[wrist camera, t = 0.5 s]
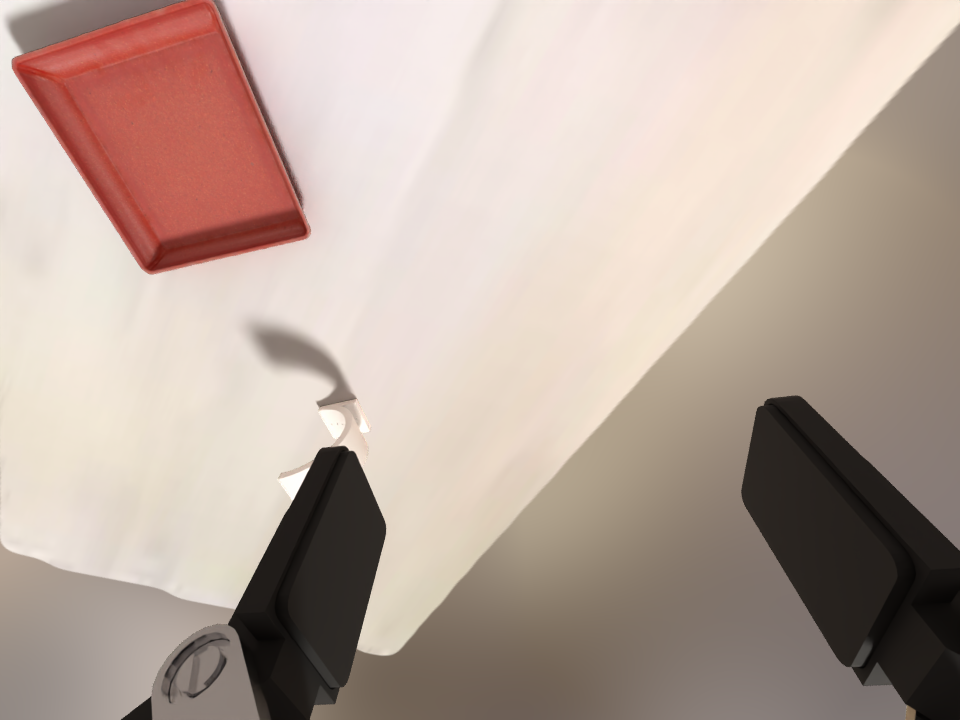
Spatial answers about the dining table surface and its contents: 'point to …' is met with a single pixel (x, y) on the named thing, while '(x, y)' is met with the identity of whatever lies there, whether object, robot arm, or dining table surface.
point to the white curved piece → (342, 424)
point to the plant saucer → (167, 136)
